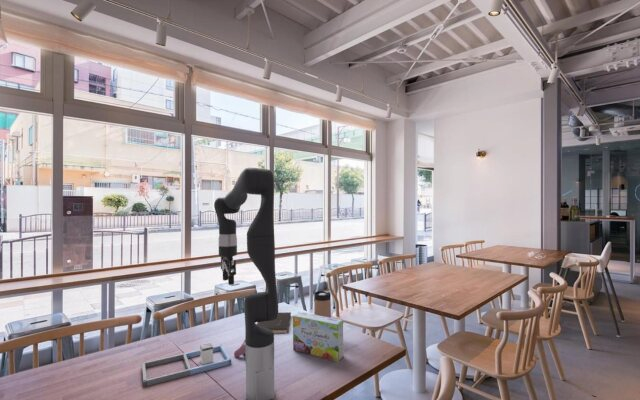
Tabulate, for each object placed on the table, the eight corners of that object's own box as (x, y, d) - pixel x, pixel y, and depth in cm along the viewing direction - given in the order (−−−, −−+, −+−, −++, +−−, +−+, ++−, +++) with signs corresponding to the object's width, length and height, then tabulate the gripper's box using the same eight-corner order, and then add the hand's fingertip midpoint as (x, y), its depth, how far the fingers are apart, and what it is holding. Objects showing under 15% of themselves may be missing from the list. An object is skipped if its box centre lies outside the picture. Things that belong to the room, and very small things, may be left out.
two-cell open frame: (231, 364, 129) (231, 359, 129) (143, 386, 114) (143, 381, 114) (221, 348, 142) (221, 344, 142) (142, 367, 127) (141, 362, 127)
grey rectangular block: (213, 362, 131) (212, 346, 131) (202, 364, 129) (202, 349, 129) (210, 357, 134) (210, 342, 134) (200, 360, 132) (200, 345, 132)
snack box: (292, 351, 140) (291, 315, 139) (299, 345, 144) (298, 310, 144) (338, 362, 130) (338, 323, 129) (344, 356, 135) (343, 318, 134)
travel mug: (316, 341, 149) (316, 296, 148) (312, 334, 156) (312, 291, 156) (333, 338, 151) (332, 294, 150) (328, 332, 158) (327, 290, 158)
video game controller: (241, 361, 134) (249, 346, 133) (232, 355, 135) (239, 341, 134) (251, 350, 144) (258, 336, 143) (242, 345, 144) (248, 331, 144)
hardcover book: (291, 316, 181) (291, 312, 181) (287, 334, 158) (287, 329, 158) (261, 317, 180) (261, 312, 180) (253, 334, 157) (253, 329, 157)
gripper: (241, 245, 137) (242, 284, 138) (231, 241, 150) (232, 277, 150) (223, 247, 133) (224, 287, 134) (214, 242, 146) (215, 279, 146)
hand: (228, 282), depth 142 cm, fingers open, 8 cm apart
